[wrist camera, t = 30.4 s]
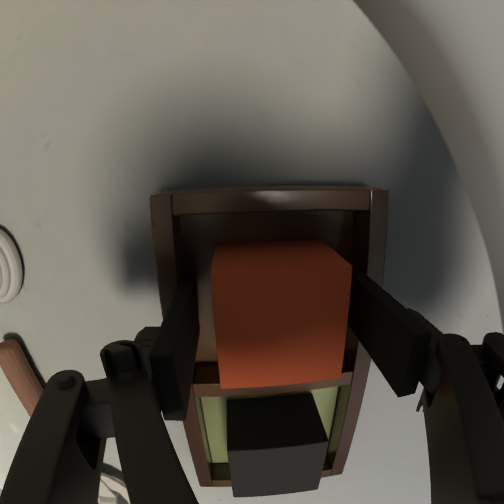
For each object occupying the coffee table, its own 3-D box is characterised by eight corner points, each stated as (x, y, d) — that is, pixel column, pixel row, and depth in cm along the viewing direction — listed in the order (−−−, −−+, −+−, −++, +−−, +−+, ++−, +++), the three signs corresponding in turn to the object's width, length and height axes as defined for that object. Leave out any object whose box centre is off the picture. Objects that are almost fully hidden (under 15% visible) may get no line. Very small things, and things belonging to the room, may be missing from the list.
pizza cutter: (-6, 336, 18) (-27, 353, 15) (41, 327, 18) (20, 347, 15) (102, 496, 23) (96, 516, 20) (150, 499, 23) (146, 521, 20)
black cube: (312, 392, 19) (329, 441, 14) (305, 444, 20) (318, 489, 16) (226, 398, 18) (226, 451, 14) (231, 450, 20) (233, 498, 15)
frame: (367, 185, 16) (389, 189, 14) (334, 451, 22) (342, 473, 19) (161, 190, 16) (148, 195, 13) (201, 462, 21) (200, 486, 19)
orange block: (321, 239, 16) (352, 265, 12) (317, 332, 18) (341, 378, 13) (215, 244, 16) (209, 273, 12) (222, 339, 17) (221, 389, 13)
